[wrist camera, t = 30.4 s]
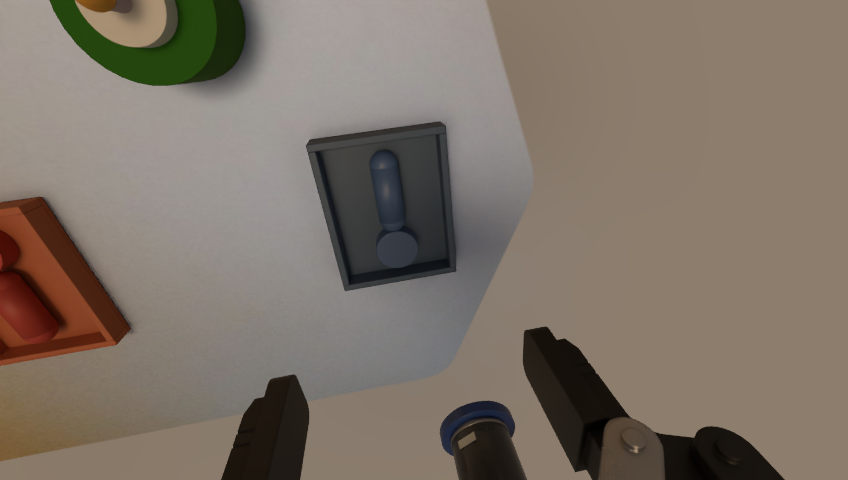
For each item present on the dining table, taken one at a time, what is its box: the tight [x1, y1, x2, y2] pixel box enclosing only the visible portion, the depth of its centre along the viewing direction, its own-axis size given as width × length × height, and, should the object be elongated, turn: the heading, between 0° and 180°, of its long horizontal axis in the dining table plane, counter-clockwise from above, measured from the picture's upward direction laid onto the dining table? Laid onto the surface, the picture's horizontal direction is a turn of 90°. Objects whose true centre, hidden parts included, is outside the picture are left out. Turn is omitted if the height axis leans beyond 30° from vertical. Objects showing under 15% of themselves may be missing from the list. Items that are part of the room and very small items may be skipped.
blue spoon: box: [369, 150, 418, 268], centre depth 31 cm, size 11×4×2 cm, turn 6°
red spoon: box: [0, 230, 59, 344], centre depth 29 cm, size 11×4×2 cm, turn 6°
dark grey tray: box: [306, 122, 456, 291], centre depth 32 cm, size 14×11×2 cm
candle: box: [50, 0, 245, 86], centre depth 20 cm, size 8×8×10 cm
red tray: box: [0, 197, 130, 366], centre depth 30 cm, size 14×11×2 cm
